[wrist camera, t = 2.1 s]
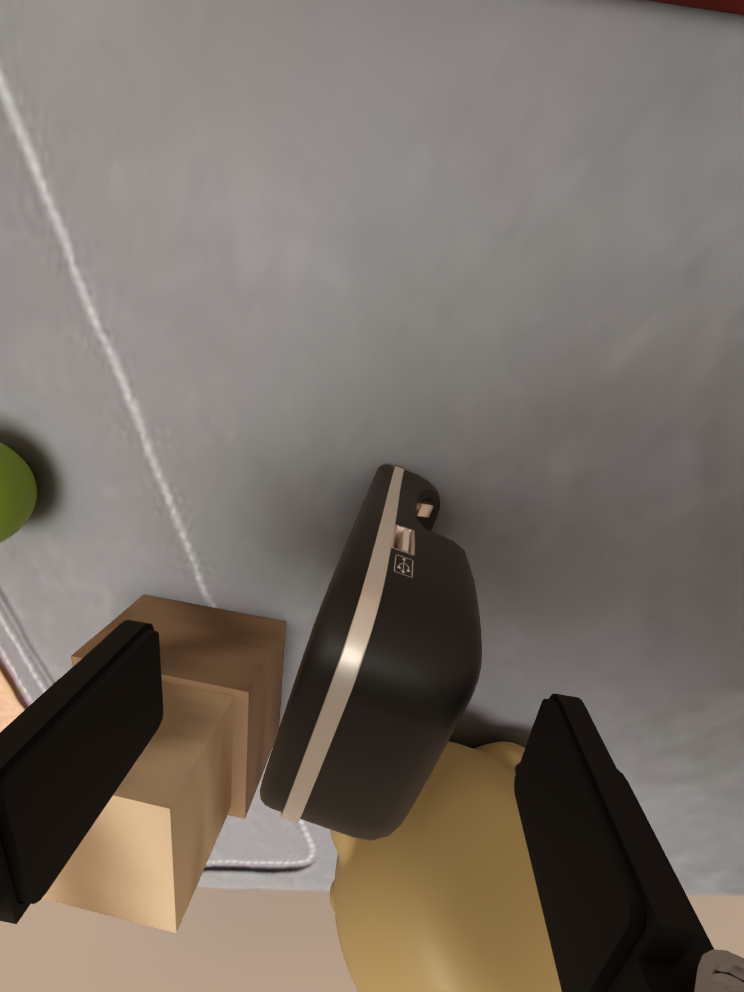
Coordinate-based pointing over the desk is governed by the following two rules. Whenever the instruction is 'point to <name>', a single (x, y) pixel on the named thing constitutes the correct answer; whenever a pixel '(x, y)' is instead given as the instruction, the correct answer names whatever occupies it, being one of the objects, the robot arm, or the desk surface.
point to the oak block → (158, 818)
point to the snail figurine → (15, 492)
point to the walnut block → (220, 673)
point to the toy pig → (447, 888)
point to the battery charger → (379, 669)
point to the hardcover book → (711, 5)
